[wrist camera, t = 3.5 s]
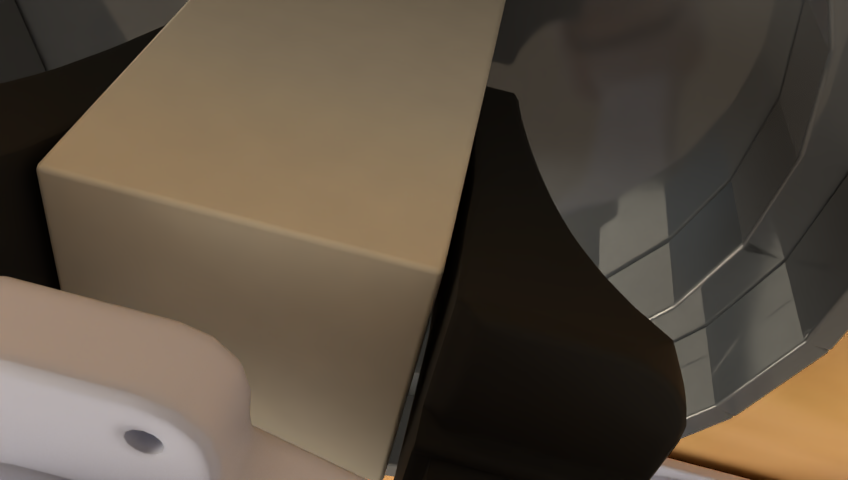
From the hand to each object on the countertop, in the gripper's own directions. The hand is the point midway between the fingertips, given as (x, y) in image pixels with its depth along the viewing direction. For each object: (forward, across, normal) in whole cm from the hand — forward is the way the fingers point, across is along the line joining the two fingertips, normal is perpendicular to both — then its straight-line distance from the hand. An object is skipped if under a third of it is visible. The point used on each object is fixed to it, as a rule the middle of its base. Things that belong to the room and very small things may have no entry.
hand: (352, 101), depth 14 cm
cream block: (+2, 0, 0) cm, 2 cm away
